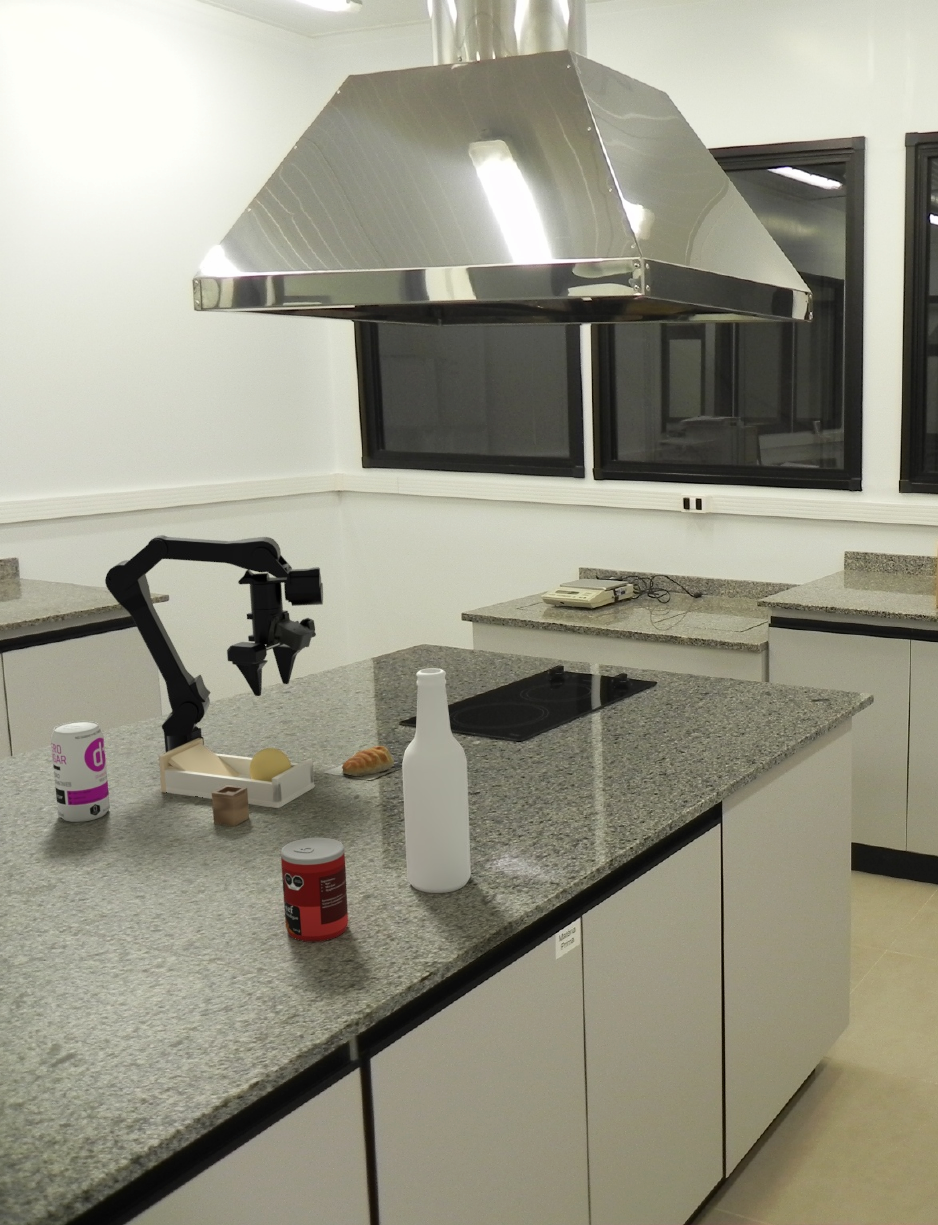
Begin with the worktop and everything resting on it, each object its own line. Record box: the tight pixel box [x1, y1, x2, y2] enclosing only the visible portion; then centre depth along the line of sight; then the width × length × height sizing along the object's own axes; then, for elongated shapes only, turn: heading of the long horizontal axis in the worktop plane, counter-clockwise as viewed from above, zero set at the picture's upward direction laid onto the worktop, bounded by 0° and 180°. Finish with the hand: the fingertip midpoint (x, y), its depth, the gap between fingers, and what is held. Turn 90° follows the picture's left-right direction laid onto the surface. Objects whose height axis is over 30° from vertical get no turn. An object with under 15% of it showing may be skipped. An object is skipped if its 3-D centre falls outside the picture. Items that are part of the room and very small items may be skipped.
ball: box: [249, 747, 292, 782], centre depth 206 cm, size 7×7×7 cm
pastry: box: [342, 745, 395, 777], centre depth 218 cm, size 9×7×4 cm
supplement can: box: [50, 720, 111, 823], centre depth 199 cm, size 8×8×15 cm
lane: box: [158, 738, 315, 809], centre depth 210 cm, size 24×11×6 cm, turn 65°
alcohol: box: [401, 667, 472, 894], centre depth 166 cm, size 9×9×30 cm
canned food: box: [280, 837, 349, 943], centre depth 154 cm, size 8×8×11 cm
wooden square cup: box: [211, 785, 250, 827], centre depth 195 cm, size 4×4×5 cm
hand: (272, 689), depth 225 cm, fingers open, 9 cm apart
